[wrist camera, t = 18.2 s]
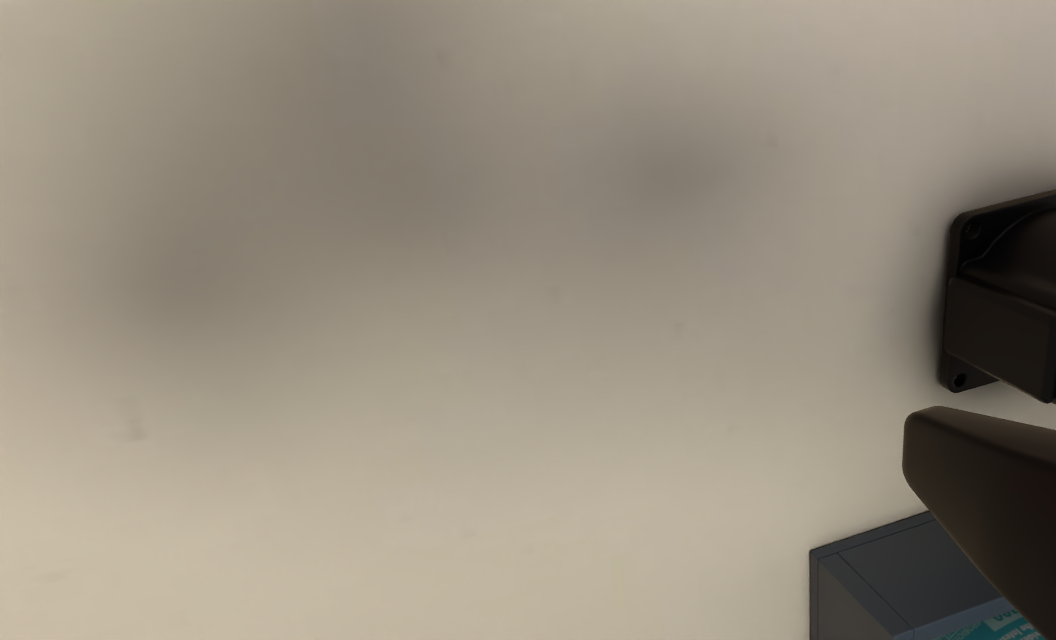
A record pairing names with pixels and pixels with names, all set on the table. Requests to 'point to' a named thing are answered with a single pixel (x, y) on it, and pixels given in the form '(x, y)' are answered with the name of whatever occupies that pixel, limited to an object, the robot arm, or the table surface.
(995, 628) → the pill bottle
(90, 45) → the table surface
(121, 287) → the table surface
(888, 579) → the bin
